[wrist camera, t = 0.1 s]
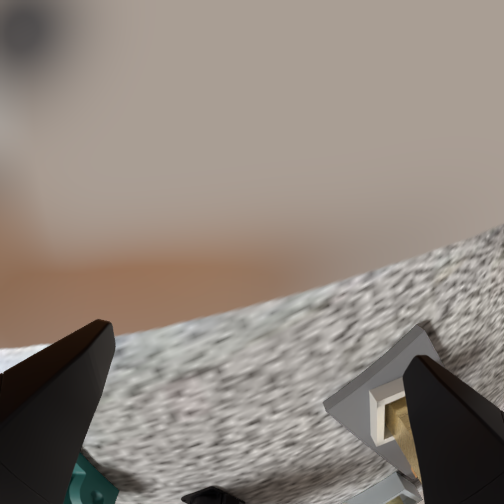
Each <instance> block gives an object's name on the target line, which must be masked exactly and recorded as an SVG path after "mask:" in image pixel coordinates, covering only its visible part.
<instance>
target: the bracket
mask: <svg viewBox="0 0 504 504" xmlns="http://www.w3.org/2000/svg"><path fill="white" fill-rule="evenodd" d="M118 493H119V490H118V489H117V488H116V487H114V486H113V485H112V484H111V483H110V482H109V481H108V480H107V479H106V478H105V477H104V476H103V475H102V474H101V473H100V472H99V471H98V470H97V469H96V468H95V467H94V466H93V465H92V464H91V463H90V462H89V461H88V460H87V459H86V458H85V457H84V456H83V455H82V454H81V453H79V456H78V459H77V462H76V464H75V467H74V470H73V473H72V476H71V480H70V483H69V486H68V489H67V492H66V496H65V499H64V502H63V504H115V501H116V499H117V496H118Z"/></svg>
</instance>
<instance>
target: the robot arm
mask: <svg viewBox="0 0 504 504" xmlns="http://www.w3.org/2000/svg"><path fill="white" fill-rule="evenodd" d="M115 347H116V346H115V338H114V332H113V326H112V323H111V322H109V321H105V320H101V319H97V320H95V321H93V322H91V323H89V324H88V325H86V326H84V327H82V328H81V329H79V330H77V331H75V332H73V333H71V334H70V335H68V336H66V337H64V338H62V339H61V340H59V341H57V342H55V343H53V344H52V345H50V346H48V347H46V348H45V349H43V350H41V351H39V352H38V353H36V354H34V355H32V356H30V357H29V358H27V359H25V360H23V361H22V362H20V363H18V364H16V365H15V366H13V367H11V368H9V369H8V370H6V371H4V372H3V373H1V374H0V504H63V502H64V499H65V496H66V492H67V489H68V486H69V483H70V480H71V476H72V473H73V470H74V467H75V464H76V462H77V459H78V456H79V453H80V450H81V447H82V445H83V442H84V439H85V436H86V434H87V431H88V429H89V426H90V423H91V421H92V418H93V416H94V413H95V411H96V408H97V406H98V403H99V401H100V398H101V396H102V392H103V389H104V386H105V382H106V379H107V375H108V372H109V369H110V365H111V362H112V359H113V356H114V352H115ZM403 385H404V391H405V397H406V404H407V411H408V417H409V422H410V427H411V431H412V436H413V440H414V445H415V449H416V454H417V459H418V465H419V470H420V476H421V482H422V488H423V494H424V502H425V504H504V412H503V411H502V410H500V409H499V408H498V407H496V406H495V405H494V404H492V403H491V402H490V401H488V400H487V399H486V398H484V397H483V396H482V395H480V394H479V393H478V392H476V391H475V390H474V389H472V388H471V387H470V386H468V385H467V384H466V383H464V382H463V381H462V380H460V379H459V378H458V377H456V376H455V375H453V374H452V373H451V372H449V371H448V370H447V369H445V368H444V367H443V366H441V365H440V364H439V363H437V362H436V361H434V360H433V359H432V358H430V357H429V356H427V355H416V356H414V357H413V359H412V360H411V362H410V363H409V365H408V367H407V368H406V370H405V371H404V374H403ZM181 501H183V502H185V503H187V504H245V502H244V501H241V500H239V499H237V498H235V497H233V496H231V495H229V494H227V493H225V492H223V491H221V490H219V489H217V488H215V487H209V488H206V489H204V490H201V491H198V492H196V493H193V494H190V495H187V496H184V497H182V498H181Z"/></svg>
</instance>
